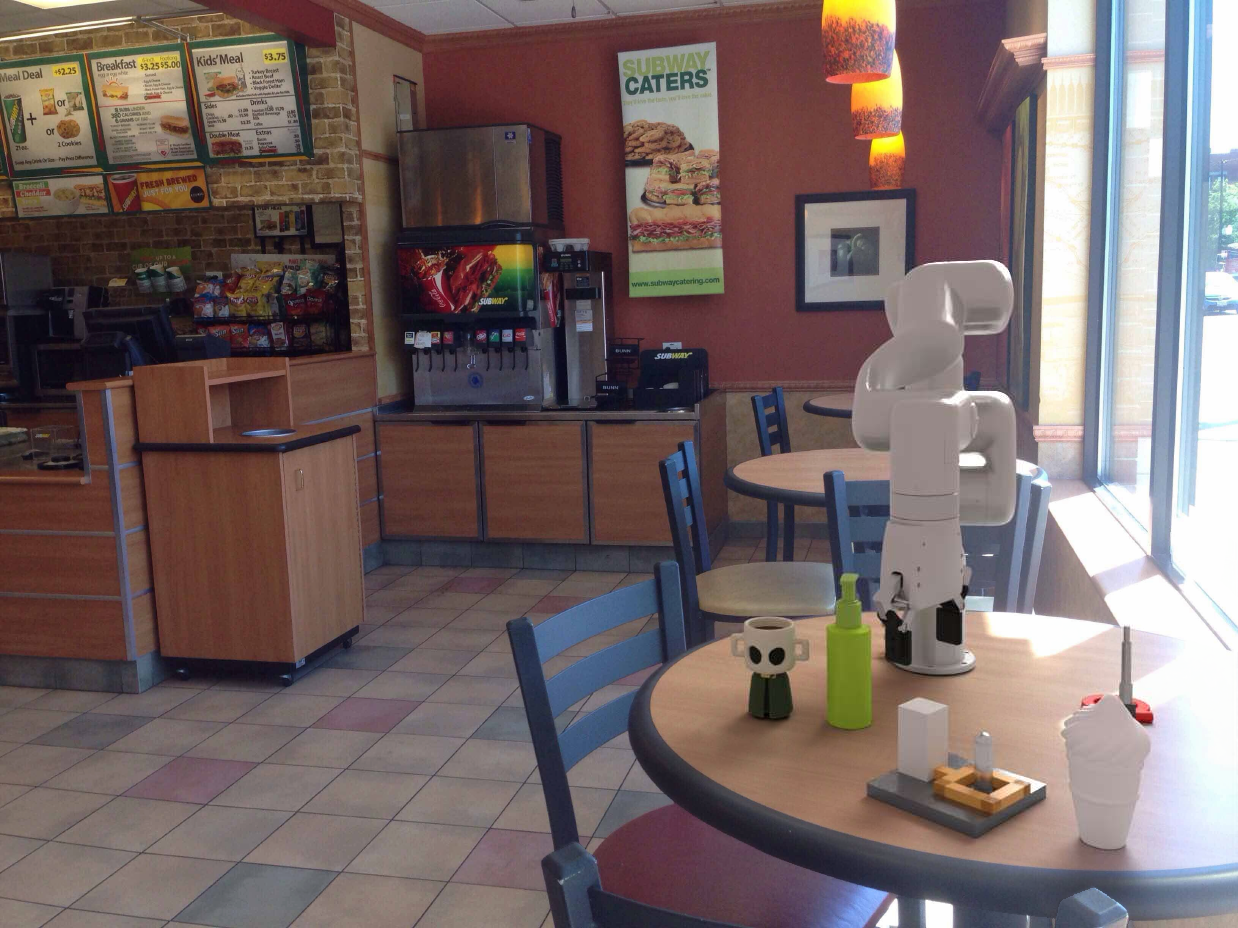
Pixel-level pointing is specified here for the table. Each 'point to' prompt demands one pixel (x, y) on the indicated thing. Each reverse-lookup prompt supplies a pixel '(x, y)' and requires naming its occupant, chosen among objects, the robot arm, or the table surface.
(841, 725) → the soap dispenser
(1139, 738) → the soft serve ice cream cone
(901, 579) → the robot arm
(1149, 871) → the table surface
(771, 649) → the character mug
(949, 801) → the plate
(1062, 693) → the table surface
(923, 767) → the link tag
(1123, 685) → the tow hook
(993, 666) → the table surface
